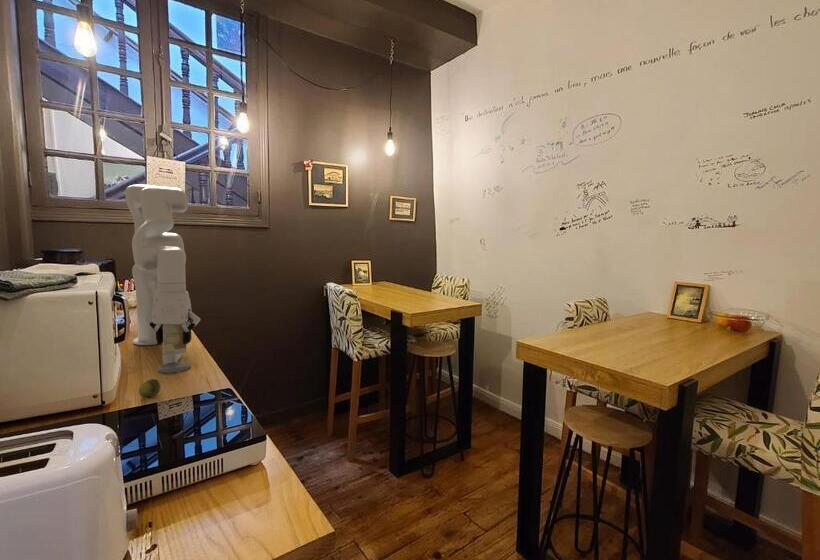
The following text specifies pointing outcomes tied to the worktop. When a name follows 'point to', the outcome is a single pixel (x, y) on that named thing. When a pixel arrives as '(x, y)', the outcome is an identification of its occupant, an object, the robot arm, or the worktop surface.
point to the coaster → (174, 367)
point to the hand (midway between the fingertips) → (173, 342)
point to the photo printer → (170, 357)
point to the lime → (150, 388)
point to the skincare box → (173, 339)
